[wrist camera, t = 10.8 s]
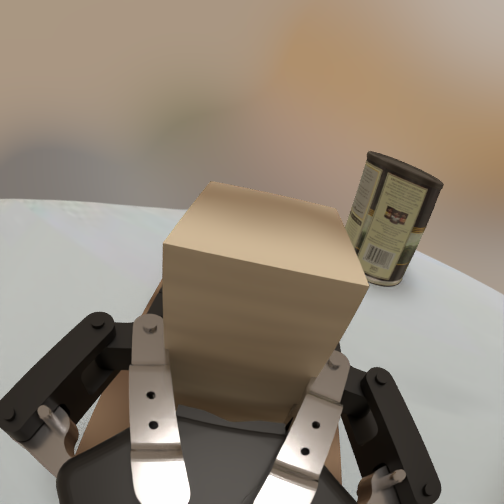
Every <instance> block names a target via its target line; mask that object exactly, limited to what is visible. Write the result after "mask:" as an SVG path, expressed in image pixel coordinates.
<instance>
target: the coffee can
mask: <svg viewBox="0 0 504 504" xmlns="http://www.w3.org/2000/svg"><path fill="white" fill-rule="evenodd" d="M443 185H444V184H443V183H442V182H441V181H440V180H439V179H437V178H435V177H434V176H432V175H430V174H428V173H426V172H424V171H422V170H420V169H418V168H416V167H413V166H411V165H409V164H407V163H404V162H402V161H399V160H397V159H394V158H392V157H389V156H386V155H383V154H380V153H376V152H372V151H369V152H368V153H367V160H366V164H365V168H364V171H363V174H362V177H361V180H360V184H359V187H358V190H357V193H356V196H355V200H354V202H353V205H352V208H351V211H350V214H349V217H348V220H347V223H346V226H345V229H346V231H347V234H348V236H349V238H350V240H351V243H352V245H353V247H354V250H355V252H356V254H357V257H358V259H359V261H360V264H361V266H362V269H363V271H364V274H365V276H366V279H367V281H368V282H371V283H374V284H378V285H383V286H393V285H396V284H398V283H400V282H401V280H402V277H403V275H404V273H405V271H406V269H407V267H408V265H409V263H410V261H411V259H412V257H413V255H414V253H415V250H416V248H417V246H418V244H419V241H420V239H421V237H422V235H423V233H424V230H425V228H426V226H427V223H428V221H429V218H430V216H431V213H432V211H433V209H434V206H435V203H436V201H437V198H438V195H439V193H440V190H441V189H442V188H443Z"/></svg>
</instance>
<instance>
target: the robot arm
mask: <svg viewBox="0 0 504 504" xmlns="http://www.w3.org/2000/svg"><path fill="white" fill-rule="evenodd" d="M121 370H129V416H130V427H128V428H127V429H125V430H123V431H121V432H120V433H118V434H116V435H114V436H112V437H111V438H109V439H107V440H105V441H103V442H101V443H100V444H98V445H96V446H94V447H92V448H90V449H88V450H86V451H84V452H82V453H80V454H78V455H76V456H75V455H74V447H75V444H76V442H77V440H78V437H79V432H78V428H77V426H76V424H77V423H78V422H79V420H80V419H81V418H82V417H83V416H84V414H85V413H86V412H87V411H88V409H89V408H90V407H91V406H92V405H93V403H94V402H95V401H96V400H97V399H98V397H99V396H100V395H101V394H102V393H103V391H104V390H105V389H106V388H107V387H108V385H109V384H110V383H111V382H112V381H113V379H114V378H115V377H116V376H117V375H118V374H119V372H120V371H121ZM340 416H341V418H342V421H343V424H344V427H345V429H346V432H347V435H348V438H349V441H350V444H351V447H352V450H353V453H354V455H355V458H356V461H357V464H358V467H359V470H360V473H361V476H362V479H361V481H360V482H359V484H358V490H357V496H358V501H357V502H356V501H355V500H354V499H353V497H352V496H351V495H350V494H349V493H348V492H347V491H346V490H345V488H344V487H343V486H342V485H341V484H340V483H339V482H338V480H337V479H336V478H335V477H334V476H333V474H332V473H331V472H330V471H329V470H328V469H327V467H326V466H325V465H324V463H325V460H326V457H327V455H328V452H329V449H330V446H331V443H332V441H333V438H334V435H335V432H336V429H337V425H338V422H339V419H340ZM0 428H1V429H3V430H4V431H5V432H6V433H7V434H8V435H9V436H10V437H11V438H12V439H13V440H14V441H15V442H17V443H18V444H19V445H21V446H22V447H23V448H24V449H26V450H27V451H29V452H30V453H31V455H32V456H33V457H34V458H35V459H37V460H38V461H39V462H40V463H41V464H42V465H43V466H44V467H45V468H46V469H47V470H48V471H49V472H50V473H51V474H53V475H54V476H55V477H56V489H57V493H58V498H59V503H60V504H433V503H434V502H436V501H437V499H438V498H439V496H440V493H441V484H440V481H439V478H438V476H437V473H436V471H435V468H434V466H433V463H432V461H431V459H430V456H429V454H428V451H427V449H426V447H425V445H424V442H423V440H422V438H421V436H420V433H419V431H418V429H417V427H416V425H415V422H414V420H413V418H412V416H411V414H410V412H409V410H408V408H407V405H406V403H405V401H404V399H403V397H402V395H401V393H400V391H399V389H398V387H397V385H396V383H395V381H394V379H393V377H392V376H391V374H390V373H389V372H388V371H386V370H385V369H383V368H379V367H374V368H371V369H370V370H369V371H368V372H364V371H361V370H359V369H356V368H354V367H352V366H350V363H349V361H348V359H347V357H346V356H345V355H344V354H342V353H341V349H340V344H339V343H338V344H337V346H336V348H335V349H334V351H333V353H332V354H331V356H330V358H329V359H328V361H327V362H326V364H325V366H324V367H323V369H322V370H321V372H320V373H319V375H318V377H311V378H310V380H309V381H308V383H307V385H306V387H305V390H304V392H303V394H302V396H301V399H300V400H299V402H298V404H293V406H292V407H291V409H290V411H289V413H288V415H287V417H286V419H285V421H284V423H276V422H268V421H261V420H258V421H244V422H230V421H227V420H225V419H223V418H220V417H218V416H216V415H214V414H211V413H209V412H207V411H205V410H201V409H196V408H192V407H188V406H184V405H180V404H178V408H177V410H175V403H174V395H173V387H172V377H171V368H170V361H169V349H166V348H165V346H164V326H163V285H162V287H161V288H160V290H159V292H158V293H157V295H156V297H155V299H154V301H153V303H152V304H151V306H150V308H149V310H148V312H147V313H146V314H144V315H141V316H139V317H138V318H137V319H136V320H135V321H134V322H132V323H116V322H114V320H113V318H112V317H111V316H110V315H109V314H107V313H105V312H94V313H91V314H89V315H88V316H87V317H85V318H84V319H83V320H82V321H81V322H80V323H79V324H78V325H77V326H75V327H74V328H73V329H72V330H71V331H70V332H69V333H68V334H67V335H66V336H65V337H63V338H62V339H61V340H60V341H59V342H58V343H57V344H56V345H55V346H54V347H53V348H52V349H51V350H50V351H49V352H48V353H47V354H46V355H45V356H43V357H42V358H41V359H40V360H39V361H38V362H37V363H36V364H35V365H34V366H33V367H32V368H31V369H30V370H29V371H28V372H27V373H26V374H25V375H24V376H23V377H22V378H21V379H20V380H19V381H18V382H17V383H16V384H15V386H14V387H13V388H12V389H11V390H10V391H9V392H8V393H7V394H6V395H5V396H4V397H3V398H2V399H1V400H0Z"/></svg>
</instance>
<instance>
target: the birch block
mask: <svg viewBox="0 0 504 504" xmlns="http://www.w3.org/2000/svg"><path fill="white" fill-rule="evenodd" d="M162 280H163V326H164V346H165V348H166V349H169V361H170V368H171V377H172V387H173V395H174V403H175V410H177V408H178V404H180V405H184V406H188V407H192V408H196V409H201V410H205V411H207V412H209V413H211V414H214V415H216V416H218V417H220V418H223V419H225V420H227V421H230V422H244V421H258V420H261V421H268V422H276V423H284V421H285V419H286V417H287V415H288V413H289V411H290V409H291V407H292V406H293V404H298V402H299V400H300V399H301V396H302V394H303V392H304V390H305V387H306V385H307V383H308V381H309V380H310V378H311V377H318V375H319V373H320V372H321V370H322V369H323V367H324V366H325V364H326V362H327V361H328V359H329V358H330V356H331V354H332V353H333V351H334V349H335V348H336V346H337V344H338V343H339V341H340V339H341V338H342V336H343V334H344V333H345V331H346V329H347V327H348V326H349V324H350V322H351V320H352V318H353V317H354V315H355V313H356V311H357V309H358V307H359V305H360V304H361V302H362V300H363V298H364V296H365V294H366V292H367V290H368V288H369V284H368V281H367V279H366V276H365V274H364V271H363V269H362V266H361V264H360V261H359V259H358V257H357V254H356V252H355V250H354V247H353V245H352V243H351V240H350V238H349V236H348V234H347V231H346V229H345V227H344V225H343V223H342V220H341V218H340V216H339V214H338V212H337V210H336V209H335V208H331V207H327V206H323V205H319V204H315V203H310V202H307V201H302V200H298V199H294V198H290V197H285V196H281V195H277V194H272V193H268V192H263V191H258V190H253V189H248V188H243V187H239V186H233V185H228V184H223V183H218V182H212V181H210V183H209V184H208V185H207V186H206V188H205V189H204V190H203V192H202V193H201V194H200V195H199V196H198V198H197V199H196V200H195V201H194V203H193V204H192V205H191V206H190V208H189V209H188V210H187V212H186V213H185V214H184V216H183V217H182V218H181V219H180V221H179V222H178V223H177V225H176V226H175V227H174V229H173V230H172V231H171V233H170V234H169V235H168V237H167V238H166V240H165V241H164V242H163V274H162Z"/></svg>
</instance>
